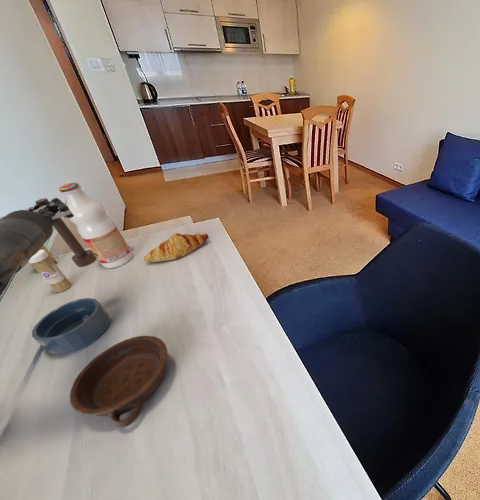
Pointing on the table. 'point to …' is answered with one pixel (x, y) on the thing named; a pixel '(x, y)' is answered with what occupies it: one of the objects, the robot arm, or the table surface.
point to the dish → (120, 379)
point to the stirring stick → (71, 241)
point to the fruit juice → (96, 227)
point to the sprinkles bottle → (50, 271)
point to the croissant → (176, 247)
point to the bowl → (71, 326)
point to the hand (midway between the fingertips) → (51, 203)
